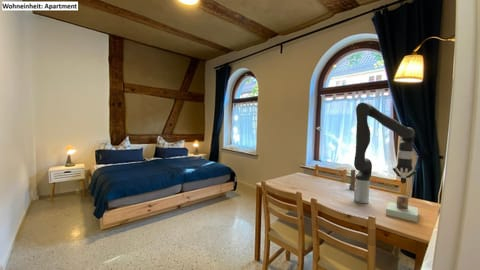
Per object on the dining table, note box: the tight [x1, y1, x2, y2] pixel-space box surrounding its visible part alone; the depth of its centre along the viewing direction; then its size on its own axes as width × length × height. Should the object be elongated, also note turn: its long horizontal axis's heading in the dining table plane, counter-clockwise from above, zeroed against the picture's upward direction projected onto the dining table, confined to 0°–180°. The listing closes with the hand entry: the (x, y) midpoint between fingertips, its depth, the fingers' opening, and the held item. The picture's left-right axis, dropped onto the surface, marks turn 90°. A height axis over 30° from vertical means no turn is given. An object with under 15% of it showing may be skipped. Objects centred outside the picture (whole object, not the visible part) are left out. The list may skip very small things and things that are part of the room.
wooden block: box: [348, 168, 356, 191], centre depth 191 cm, size 4×11×18 cm, turn 99°
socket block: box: [385, 201, 419, 223], centre depth 140 cm, size 16×16×4 cm
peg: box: [396, 194, 409, 210], centre depth 140 cm, size 6×6×12 cm
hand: (403, 183), depth 141 cm, fingers closed
